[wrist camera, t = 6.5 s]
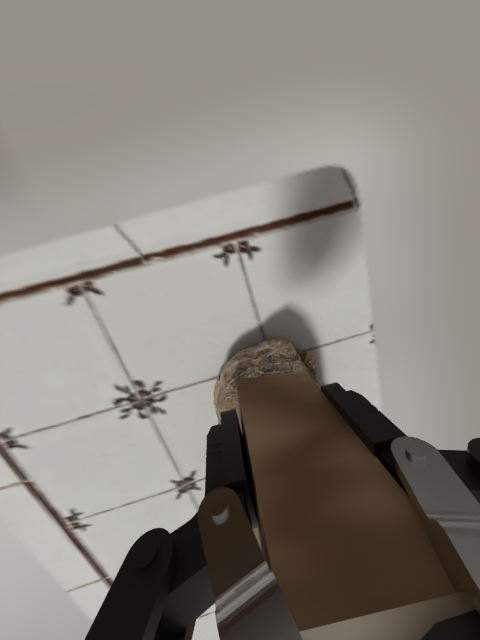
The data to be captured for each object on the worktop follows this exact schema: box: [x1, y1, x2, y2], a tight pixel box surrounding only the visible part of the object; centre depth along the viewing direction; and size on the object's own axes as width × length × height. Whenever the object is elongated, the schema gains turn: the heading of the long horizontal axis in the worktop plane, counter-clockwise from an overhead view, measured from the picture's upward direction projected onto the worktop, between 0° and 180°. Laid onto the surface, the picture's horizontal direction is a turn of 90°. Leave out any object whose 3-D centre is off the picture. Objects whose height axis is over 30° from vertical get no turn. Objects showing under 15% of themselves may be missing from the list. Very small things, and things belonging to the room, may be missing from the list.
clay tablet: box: [214, 338, 321, 425], centre depth 24 cm, size 14×5×20 cm
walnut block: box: [236, 371, 480, 640], centre depth 9 cm, size 4×6×9 cm, turn 4°
